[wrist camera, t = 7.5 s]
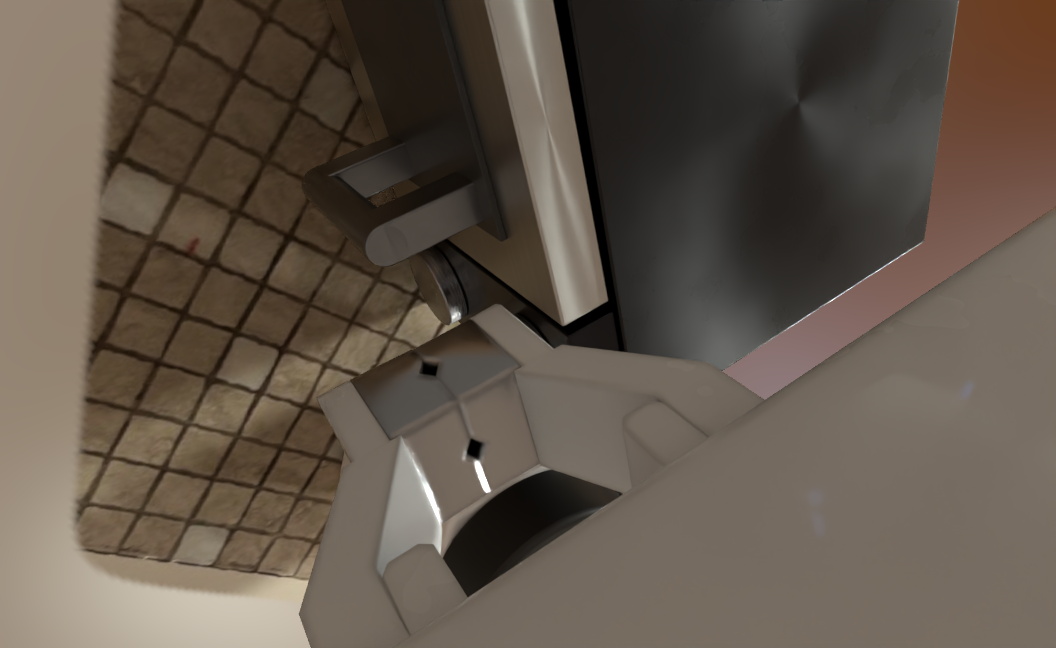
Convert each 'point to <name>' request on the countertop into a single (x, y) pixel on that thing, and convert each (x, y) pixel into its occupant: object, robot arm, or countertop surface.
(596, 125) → the oven
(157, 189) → the countertop surface
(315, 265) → the countertop surface
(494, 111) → the oven door
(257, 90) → the countertop surface
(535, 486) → the jar
